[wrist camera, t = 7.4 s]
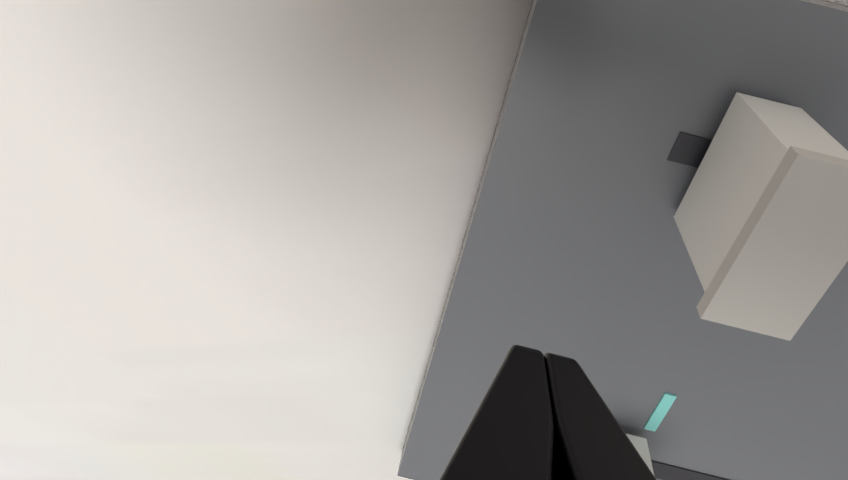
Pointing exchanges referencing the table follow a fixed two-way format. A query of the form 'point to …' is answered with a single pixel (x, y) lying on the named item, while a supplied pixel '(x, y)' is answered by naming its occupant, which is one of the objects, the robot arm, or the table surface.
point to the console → (642, 239)
